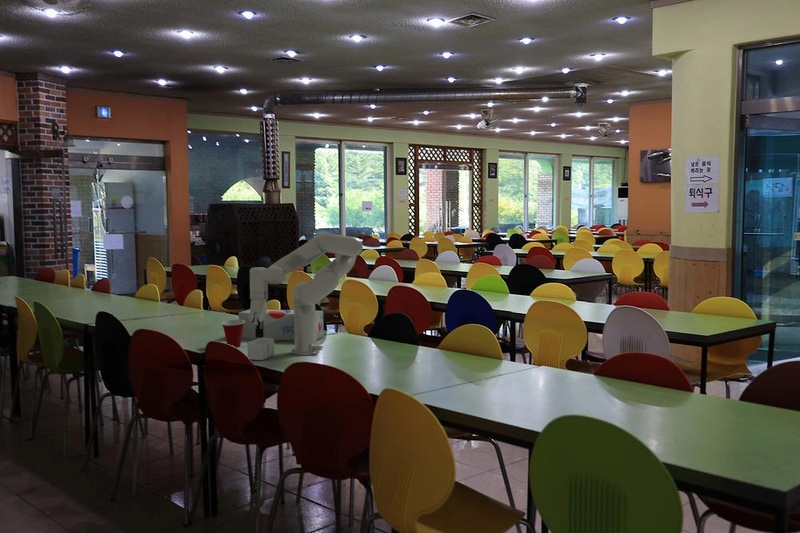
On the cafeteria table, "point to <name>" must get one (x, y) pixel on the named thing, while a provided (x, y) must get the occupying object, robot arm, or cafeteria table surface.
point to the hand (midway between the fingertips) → (259, 337)
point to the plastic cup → (233, 331)
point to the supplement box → (260, 348)
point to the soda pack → (277, 325)
